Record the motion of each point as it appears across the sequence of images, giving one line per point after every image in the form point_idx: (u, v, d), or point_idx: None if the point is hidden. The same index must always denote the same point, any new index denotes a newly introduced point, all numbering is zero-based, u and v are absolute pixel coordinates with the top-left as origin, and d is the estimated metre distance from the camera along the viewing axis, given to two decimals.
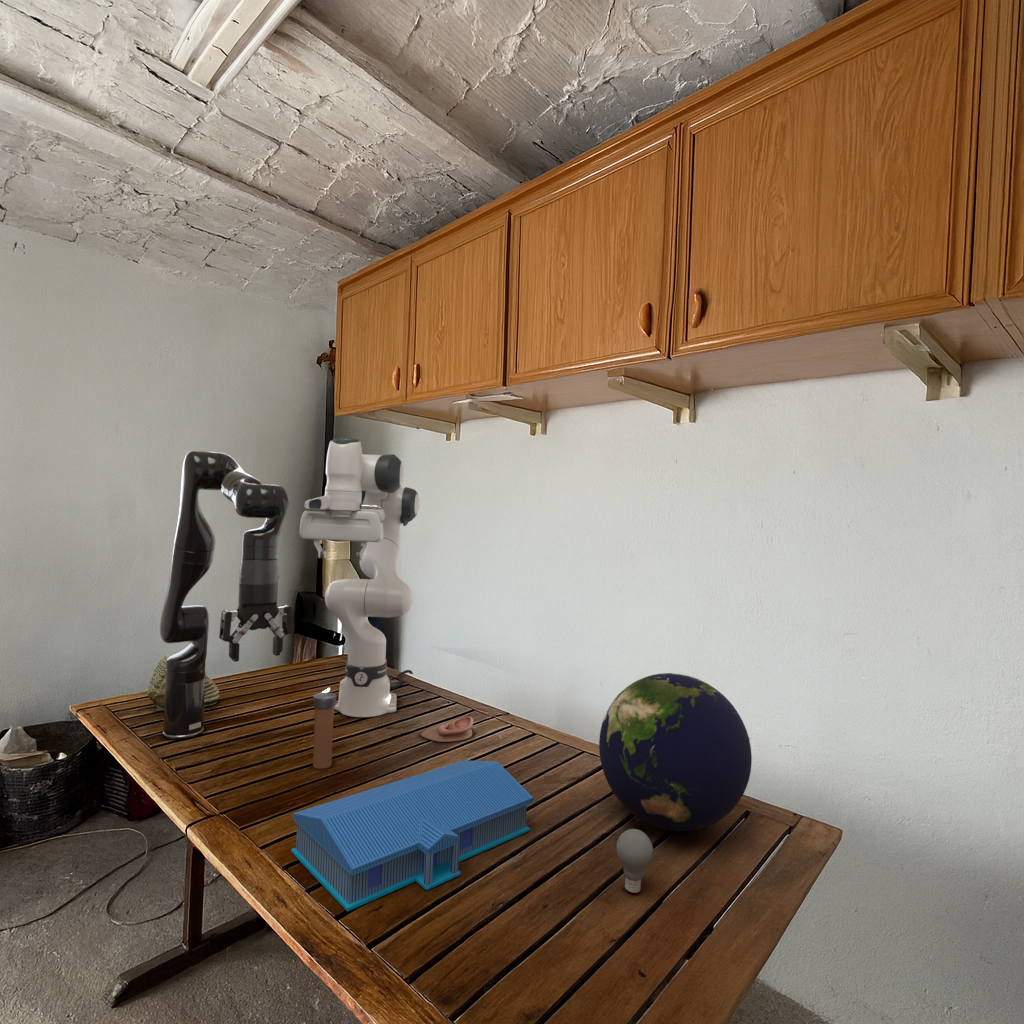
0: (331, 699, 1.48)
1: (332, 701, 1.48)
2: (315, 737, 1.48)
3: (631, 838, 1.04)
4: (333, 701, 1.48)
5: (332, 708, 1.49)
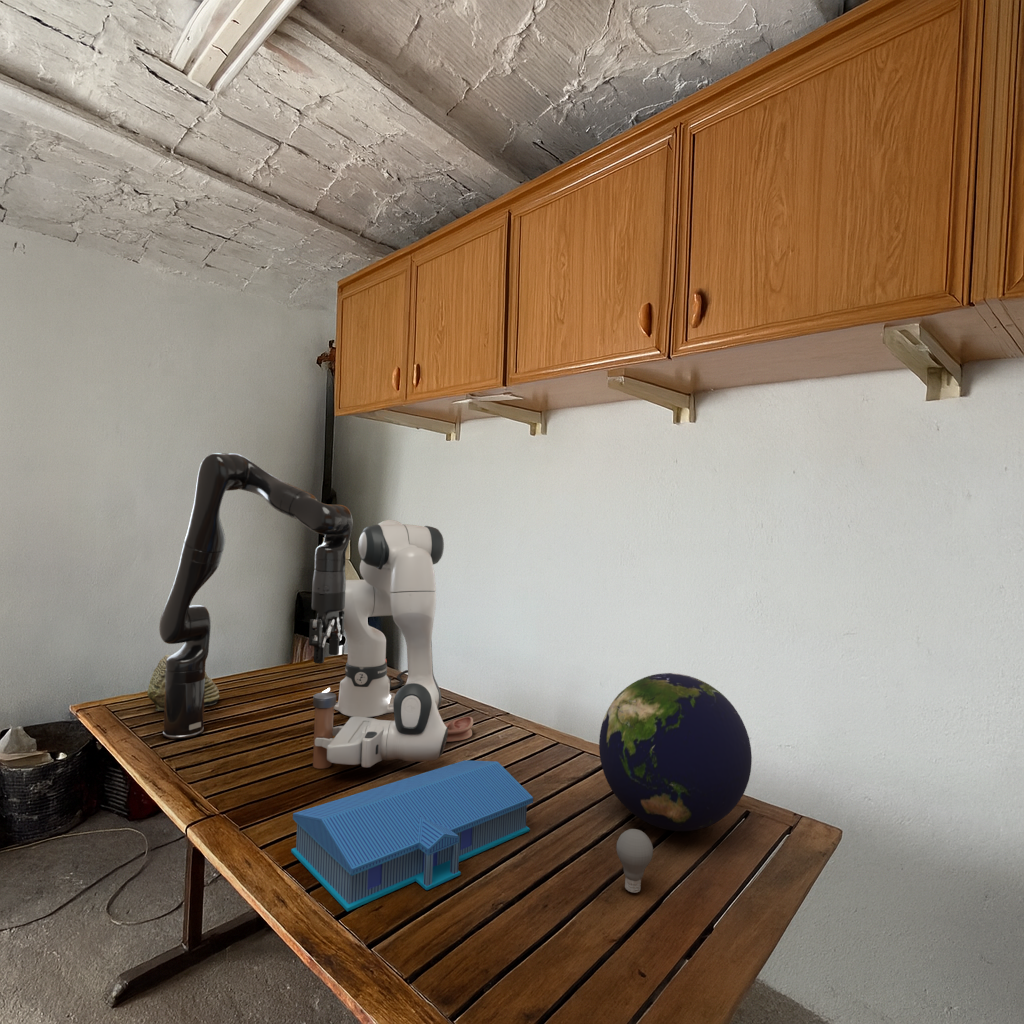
0: (331, 699, 1.48)
1: (333, 701, 1.48)
2: (315, 737, 1.48)
3: (631, 838, 1.04)
4: (333, 701, 1.48)
5: (332, 708, 1.49)
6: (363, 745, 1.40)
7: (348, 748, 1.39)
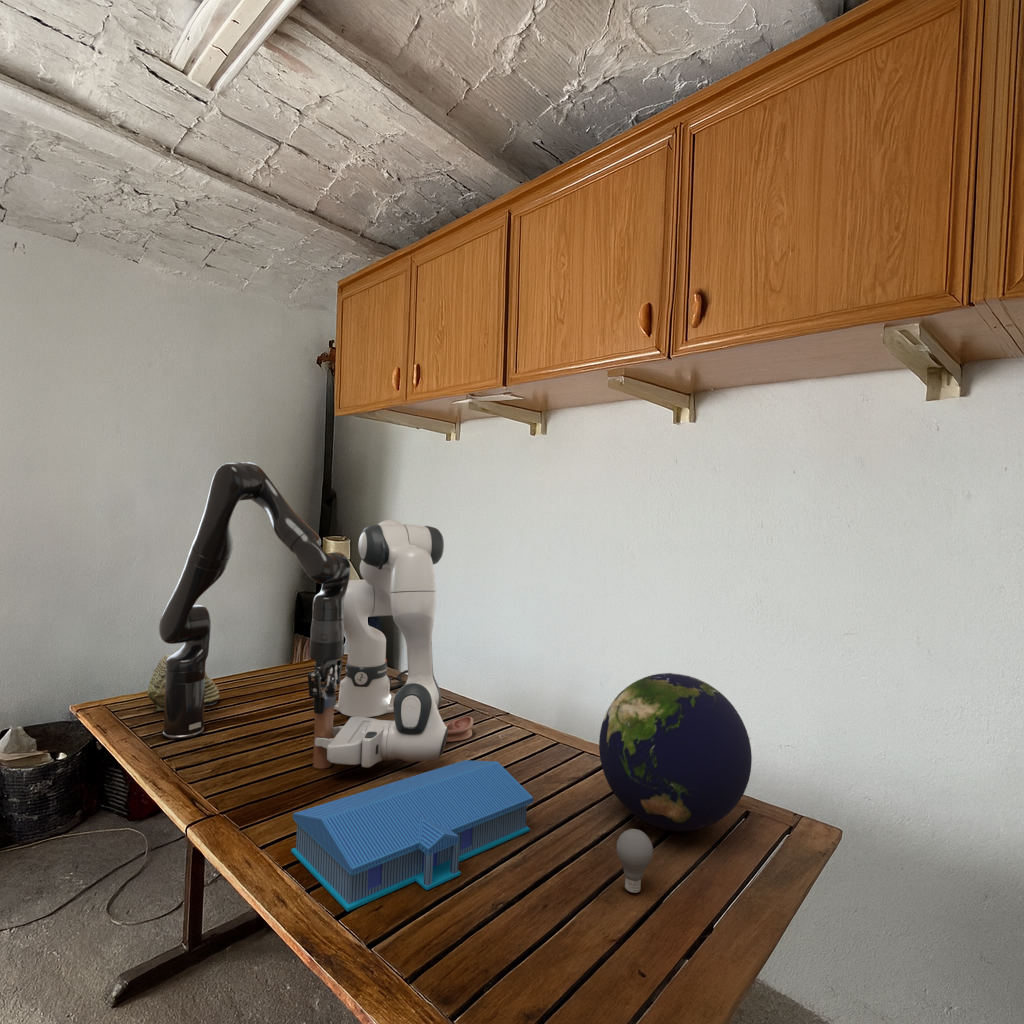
0: (331, 699, 1.48)
1: (333, 701, 1.48)
2: (315, 737, 1.48)
3: (631, 838, 1.04)
4: (333, 701, 1.48)
5: (332, 708, 1.49)
6: (363, 745, 1.40)
7: (348, 748, 1.39)
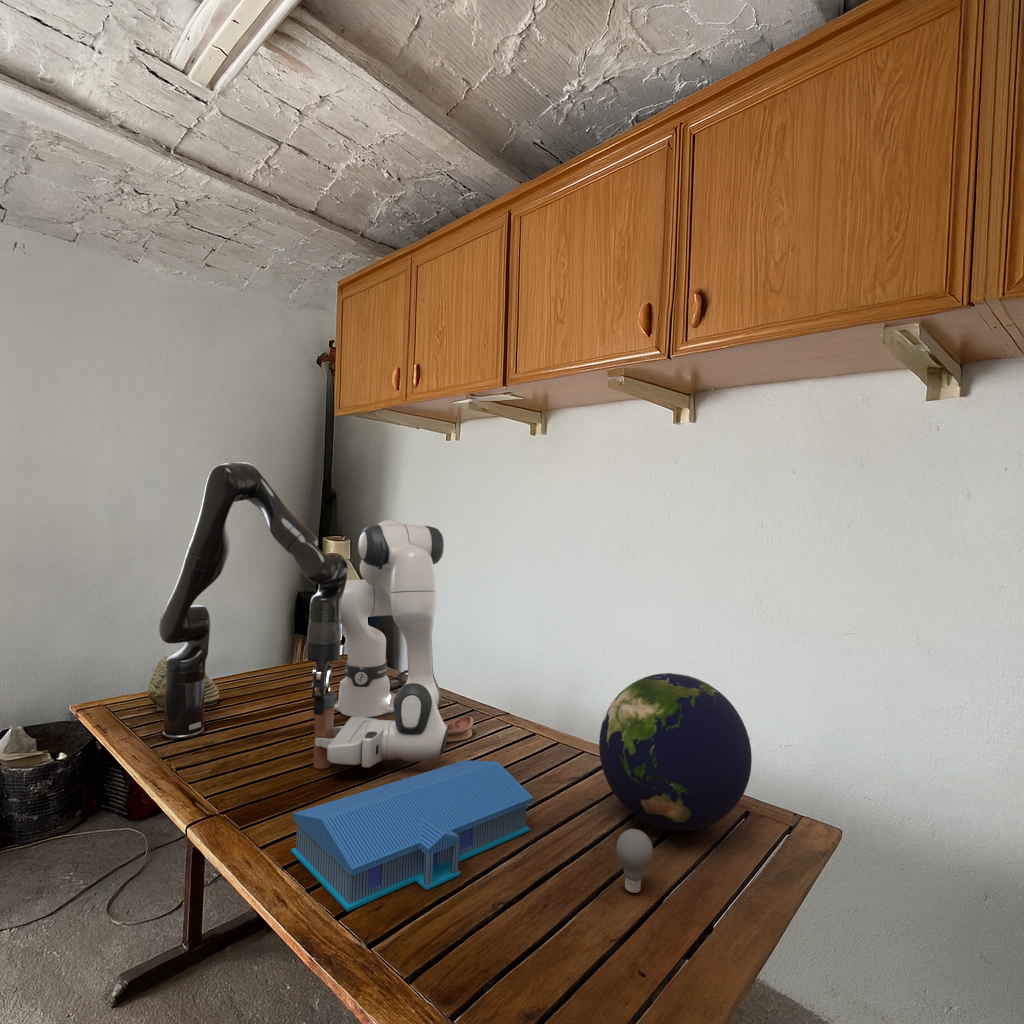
0: None
1: None
2: (315, 737, 1.48)
3: (631, 838, 1.04)
4: None
5: (332, 708, 1.49)
6: (363, 745, 1.40)
7: (349, 748, 1.39)
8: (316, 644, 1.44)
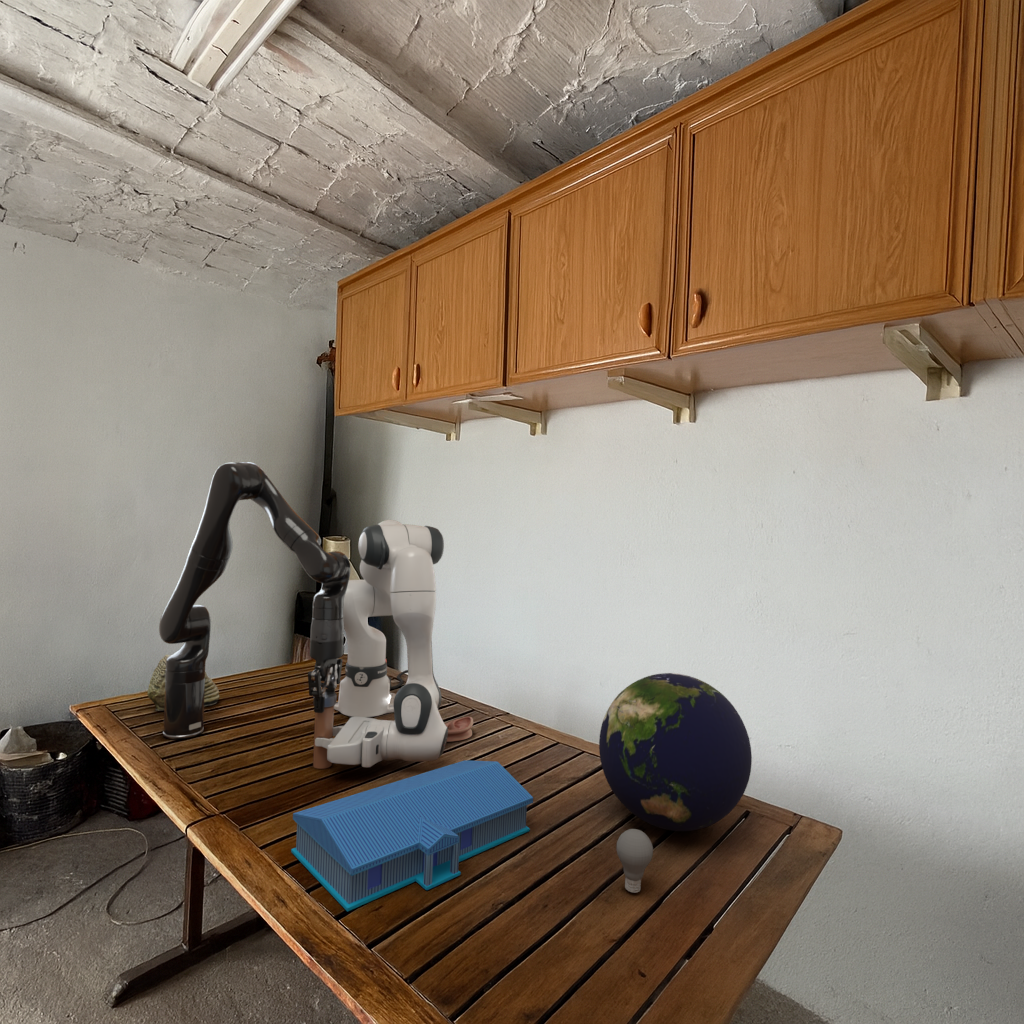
0: None
1: None
2: (315, 737, 1.48)
3: (631, 838, 1.04)
4: None
5: (332, 708, 1.49)
6: (363, 745, 1.40)
7: (349, 748, 1.39)
8: (315, 641, 1.46)
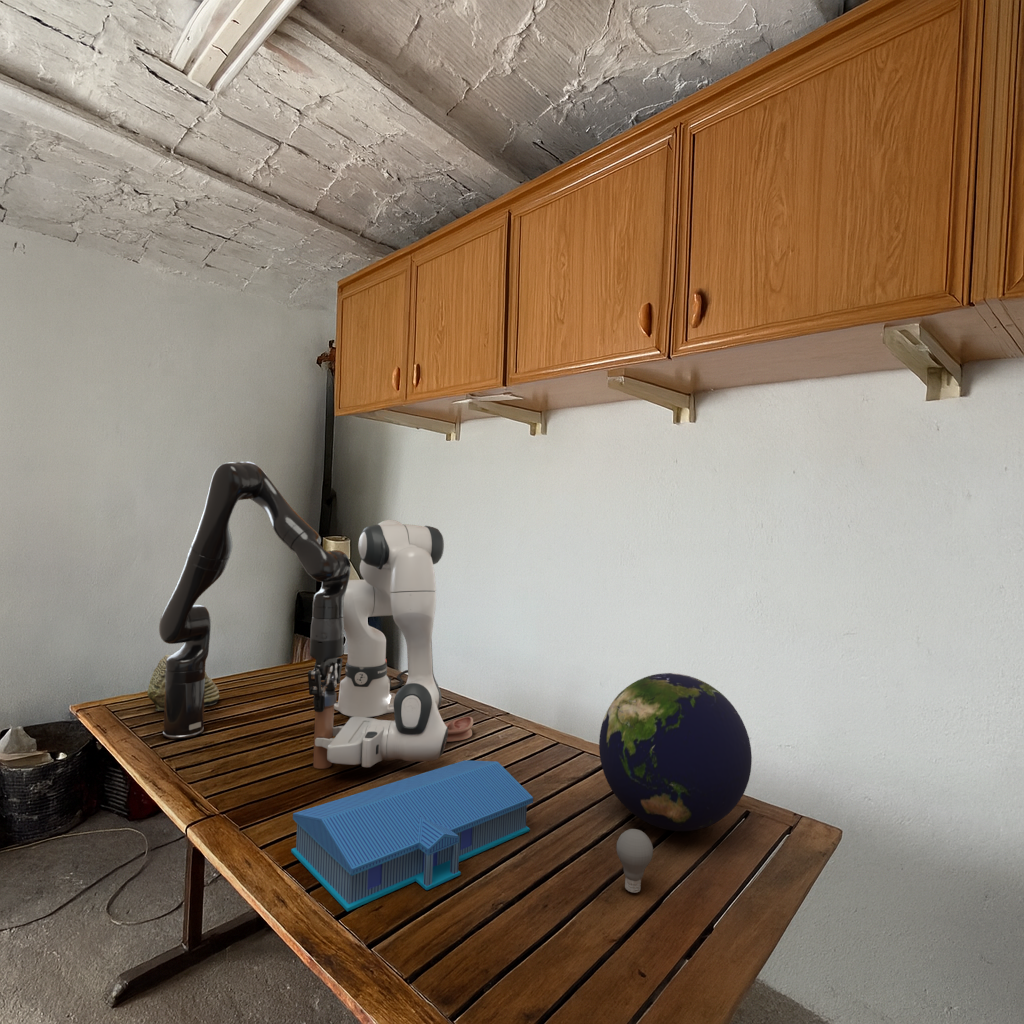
0: None
1: None
2: (315, 737, 1.48)
3: (631, 838, 1.04)
4: None
5: (332, 708, 1.49)
6: (363, 745, 1.40)
7: (349, 748, 1.39)
8: (315, 640, 1.46)
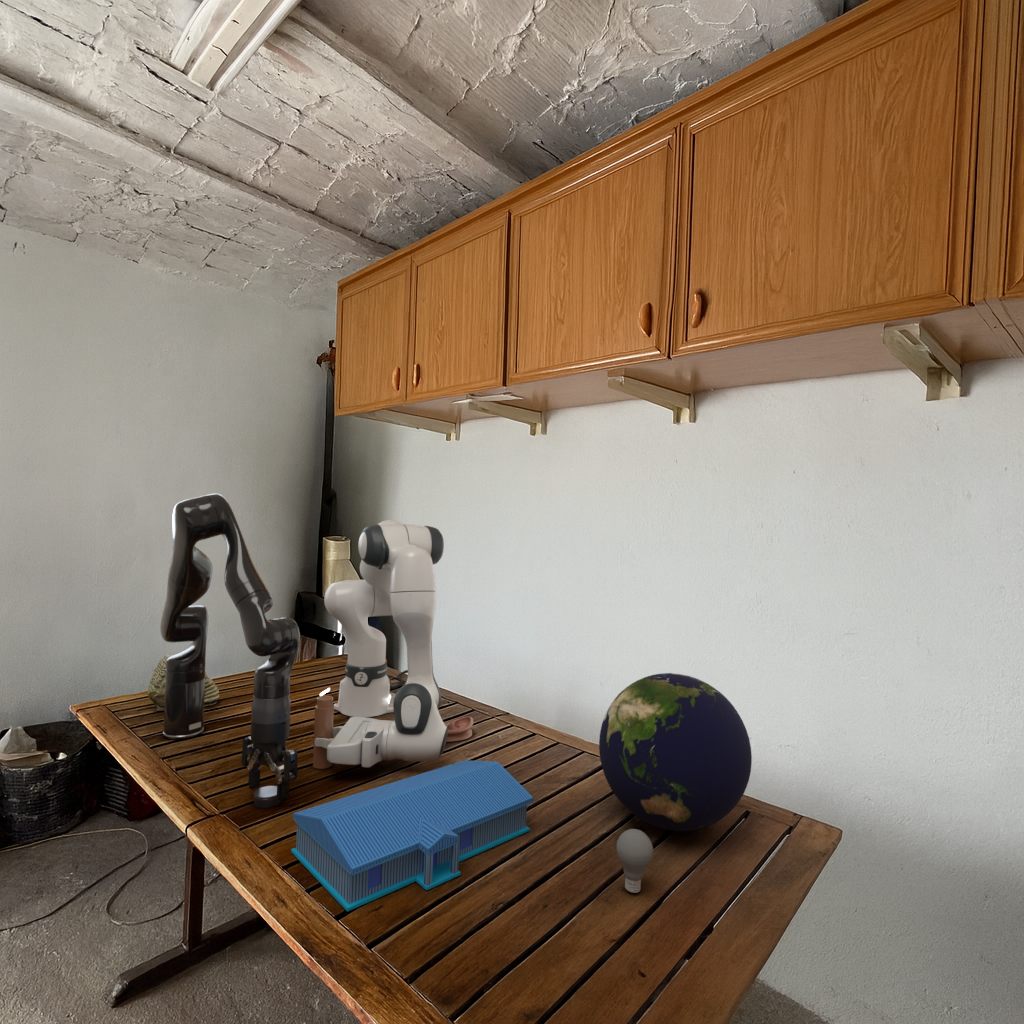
0: None
1: None
2: (315, 737, 1.48)
3: (631, 838, 1.04)
4: None
5: (332, 708, 1.49)
6: (363, 745, 1.40)
7: (348, 748, 1.39)
8: (277, 723, 1.27)
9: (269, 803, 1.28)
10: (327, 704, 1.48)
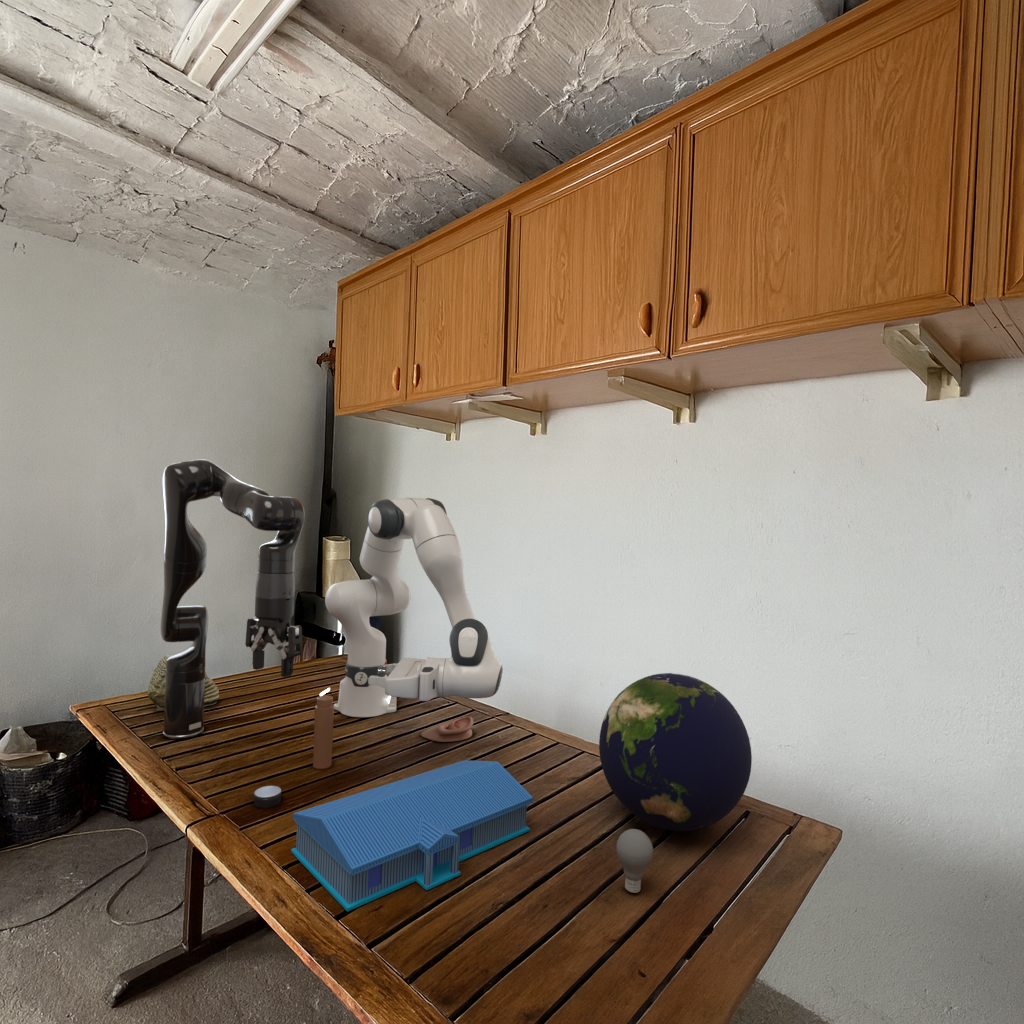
0: None
1: None
2: (315, 737, 1.47)
3: (631, 838, 1.04)
4: None
5: (332, 708, 1.49)
6: (421, 679, 1.40)
7: (407, 681, 1.39)
8: (282, 599, 1.27)
9: (269, 803, 1.28)
10: (327, 704, 1.48)
